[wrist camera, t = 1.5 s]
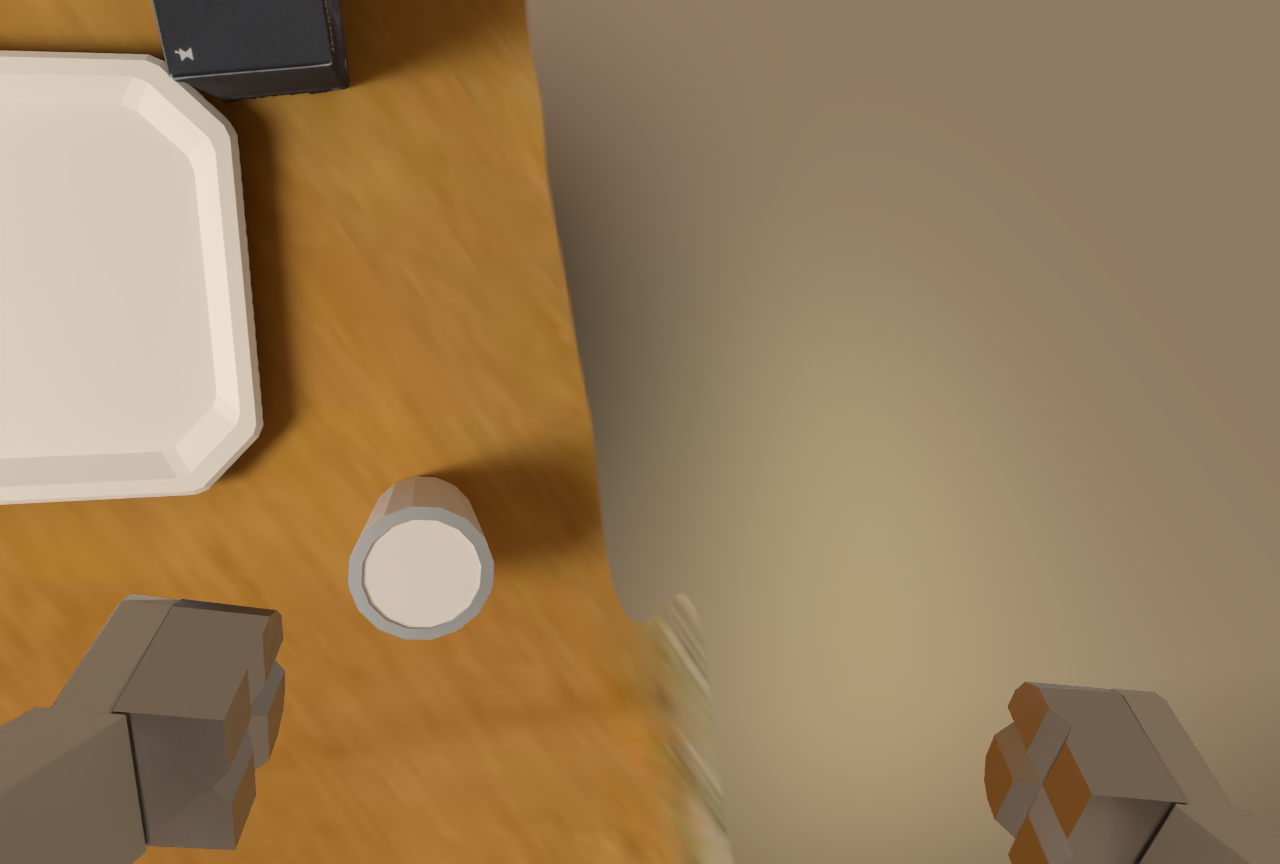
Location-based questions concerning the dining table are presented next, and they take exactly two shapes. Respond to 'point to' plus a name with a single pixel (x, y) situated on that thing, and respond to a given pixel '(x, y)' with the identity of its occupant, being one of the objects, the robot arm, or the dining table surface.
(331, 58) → the small box
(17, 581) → the dining table surface
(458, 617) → the white cup
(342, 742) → the dining table surface
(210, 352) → the plate
